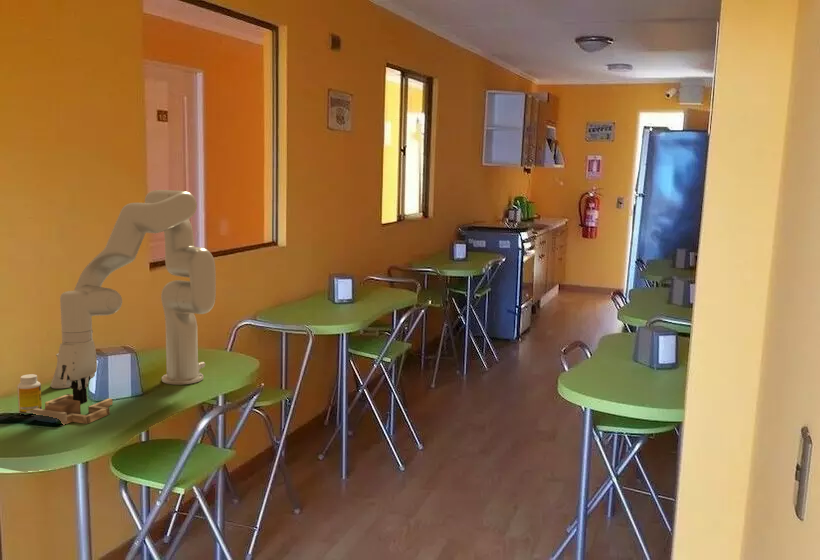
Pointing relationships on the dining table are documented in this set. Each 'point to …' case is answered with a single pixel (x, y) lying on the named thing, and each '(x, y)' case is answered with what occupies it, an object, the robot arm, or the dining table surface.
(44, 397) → the dining table surface
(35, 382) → the supplement bottle
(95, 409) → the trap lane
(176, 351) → the robot arm
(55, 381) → the flask
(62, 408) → the walnut block
